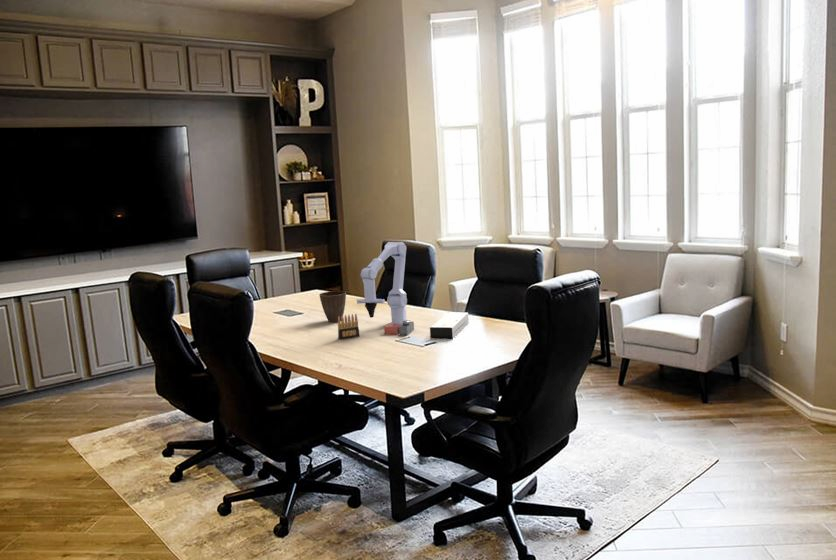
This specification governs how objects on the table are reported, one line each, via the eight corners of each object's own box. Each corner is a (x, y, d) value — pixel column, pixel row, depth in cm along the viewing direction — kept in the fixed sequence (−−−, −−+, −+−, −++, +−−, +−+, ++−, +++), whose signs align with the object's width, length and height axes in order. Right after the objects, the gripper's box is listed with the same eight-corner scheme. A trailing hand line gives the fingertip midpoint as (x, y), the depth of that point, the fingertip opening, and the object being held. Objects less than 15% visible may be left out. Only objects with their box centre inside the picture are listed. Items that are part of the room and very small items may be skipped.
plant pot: (317, 324, 380) (315, 296, 377) (327, 318, 394) (325, 291, 391) (342, 324, 376) (340, 295, 373) (351, 318, 390) (349, 290, 388)
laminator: (452, 340, 329) (452, 327, 328) (428, 339, 333) (427, 327, 332) (468, 323, 361) (468, 312, 360) (446, 323, 365) (445, 312, 364)
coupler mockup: (393, 329, 356) (393, 318, 355) (414, 329, 353) (413, 318, 352) (386, 335, 345) (385, 323, 344) (407, 335, 342) (406, 323, 341)
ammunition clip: (339, 339, 342) (337, 316, 340) (338, 339, 343) (336, 315, 341) (359, 336, 345) (358, 313, 343) (358, 336, 347) (356, 312, 345)
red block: (389, 330, 355) (389, 323, 354) (402, 330, 353) (402, 323, 352) (384, 334, 347) (384, 327, 347) (397, 334, 345) (397, 327, 345)
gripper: (353, 292, 348) (355, 318, 350) (380, 292, 344) (382, 318, 346) (358, 290, 355) (360, 315, 357) (385, 289, 351) (386, 315, 353)
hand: (371, 317), depth 352 cm, fingers closed
